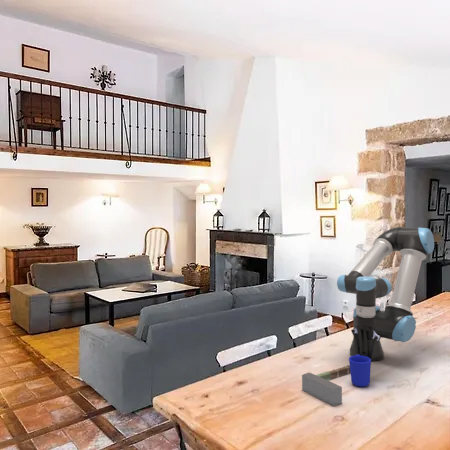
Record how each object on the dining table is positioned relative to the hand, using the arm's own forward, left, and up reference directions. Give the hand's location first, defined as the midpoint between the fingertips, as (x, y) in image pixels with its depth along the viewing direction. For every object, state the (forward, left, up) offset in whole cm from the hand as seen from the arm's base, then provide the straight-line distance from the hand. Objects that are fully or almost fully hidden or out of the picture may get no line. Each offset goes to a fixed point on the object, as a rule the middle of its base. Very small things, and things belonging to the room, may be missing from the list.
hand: (365, 373), depth 173 cm
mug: (+2, -5, -2) cm, 6 cm away
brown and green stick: (-8, -9, -2) cm, 13 cm away
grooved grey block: (+2, -27, -2) cm, 27 cm away
